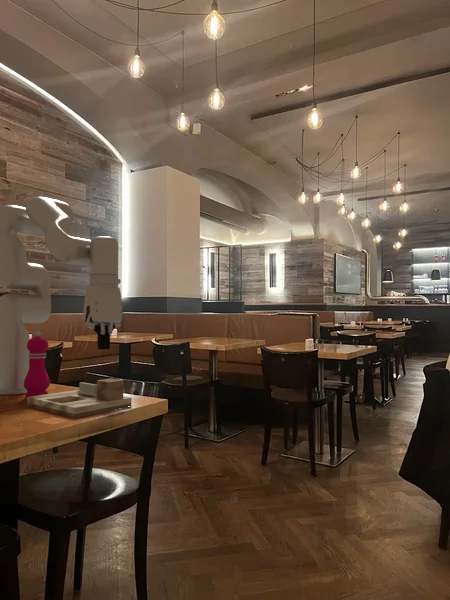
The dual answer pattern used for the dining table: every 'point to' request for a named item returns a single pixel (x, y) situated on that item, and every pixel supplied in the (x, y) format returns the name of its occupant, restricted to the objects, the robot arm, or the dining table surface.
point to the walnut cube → (110, 389)
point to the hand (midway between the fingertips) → (103, 349)
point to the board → (75, 404)
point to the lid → (88, 389)
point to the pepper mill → (37, 367)
